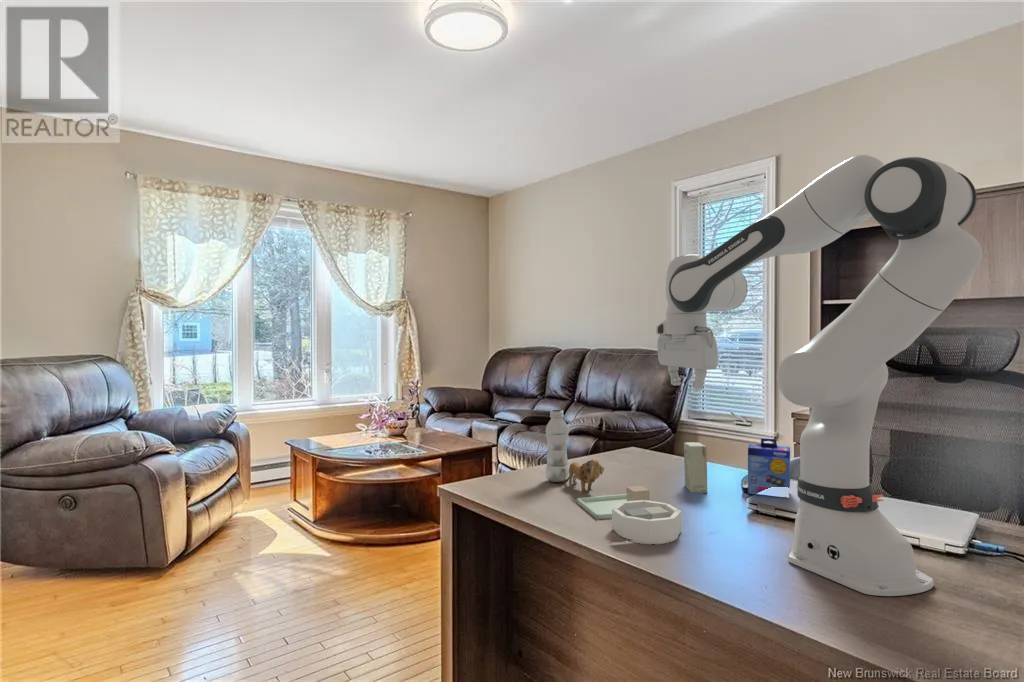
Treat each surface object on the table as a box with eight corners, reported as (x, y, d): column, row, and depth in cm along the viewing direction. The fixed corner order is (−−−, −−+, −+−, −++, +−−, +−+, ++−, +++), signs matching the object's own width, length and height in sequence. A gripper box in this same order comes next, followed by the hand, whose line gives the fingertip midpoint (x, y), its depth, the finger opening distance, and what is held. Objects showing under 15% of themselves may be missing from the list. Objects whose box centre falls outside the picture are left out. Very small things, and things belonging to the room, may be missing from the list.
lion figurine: (607, 494, 146) (607, 459, 146) (592, 498, 143) (591, 462, 143) (570, 482, 158) (570, 450, 158) (556, 485, 155) (555, 452, 155)
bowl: (691, 540, 113) (691, 516, 113) (631, 547, 110) (631, 523, 110) (659, 519, 126) (659, 498, 126) (604, 525, 123) (604, 503, 123)
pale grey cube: (669, 531, 117) (668, 511, 117) (651, 533, 116) (651, 513, 116) (659, 524, 121) (659, 506, 121) (642, 526, 120) (642, 507, 120)
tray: (663, 514, 129) (663, 508, 129) (597, 521, 125) (597, 515, 125) (637, 498, 142) (637, 492, 142) (576, 503, 138) (576, 498, 138)
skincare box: (708, 493, 145) (707, 446, 145) (691, 493, 145) (690, 446, 145) (700, 486, 152) (699, 441, 152) (683, 487, 152) (683, 441, 152)
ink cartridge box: (747, 494, 144) (746, 438, 144) (748, 489, 149) (748, 434, 149) (790, 499, 140) (790, 440, 140) (790, 493, 145) (790, 437, 145)
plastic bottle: (553, 477, 163) (552, 408, 163) (573, 480, 159) (572, 410, 159) (541, 482, 158) (540, 411, 158) (561, 486, 154) (561, 413, 154)
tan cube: (649, 507, 133) (649, 490, 133) (634, 508, 133) (633, 491, 132) (641, 502, 137) (641, 485, 137) (626, 503, 136) (626, 487, 136)
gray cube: (650, 533, 116) (650, 513, 116) (633, 535, 115) (632, 515, 115) (641, 526, 120) (641, 508, 120) (624, 528, 119) (624, 509, 119)
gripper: (725, 326, 120) (726, 391, 120) (675, 327, 140) (676, 382, 140) (699, 326, 119) (699, 392, 119) (652, 327, 139) (653, 383, 139)
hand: (686, 387), depth 130 cm, fingers open, 8 cm apart
